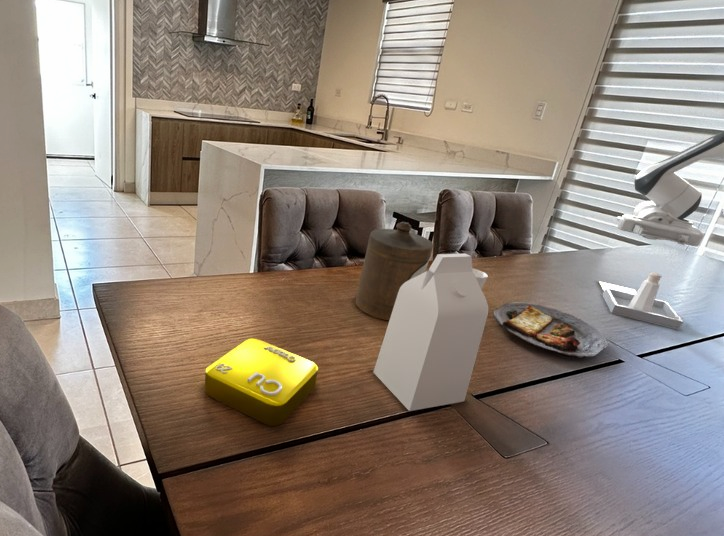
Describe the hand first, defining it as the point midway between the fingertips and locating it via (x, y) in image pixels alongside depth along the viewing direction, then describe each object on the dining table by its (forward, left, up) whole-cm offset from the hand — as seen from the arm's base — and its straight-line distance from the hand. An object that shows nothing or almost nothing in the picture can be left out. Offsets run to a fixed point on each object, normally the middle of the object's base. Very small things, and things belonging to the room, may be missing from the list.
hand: (662, 237), depth 134 cm
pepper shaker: (+1, +11, -19) cm, 22 cm away
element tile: (+75, +104, -20) cm, 129 cm away
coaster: (+3, -4, -20) cm, 21 cm away
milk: (+51, +87, -20) cm, 102 cm away
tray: (+1, +11, -20) cm, 22 cm away
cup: (+46, +36, -20) cm, 61 cm away
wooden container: (+64, +57, -20) cm, 88 cm away
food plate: (+27, +46, -20) cm, 57 cm away
